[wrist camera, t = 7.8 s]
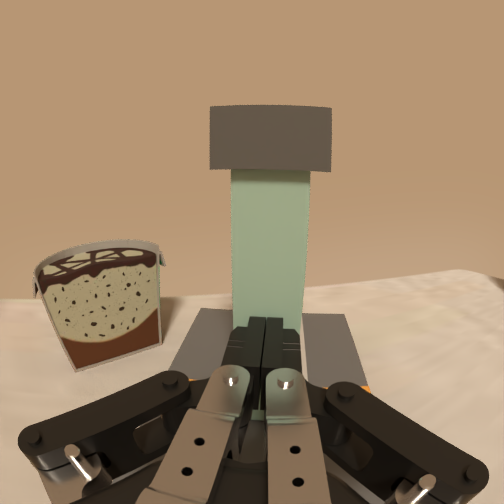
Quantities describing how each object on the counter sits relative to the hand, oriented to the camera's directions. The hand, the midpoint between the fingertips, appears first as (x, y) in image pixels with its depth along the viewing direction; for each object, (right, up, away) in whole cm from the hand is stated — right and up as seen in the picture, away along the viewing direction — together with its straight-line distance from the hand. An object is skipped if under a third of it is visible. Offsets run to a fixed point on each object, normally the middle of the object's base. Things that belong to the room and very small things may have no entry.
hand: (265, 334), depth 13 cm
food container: (-15, -6, +13) cm, 21 cm away
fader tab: (0, -5, +4) cm, 7 cm away
